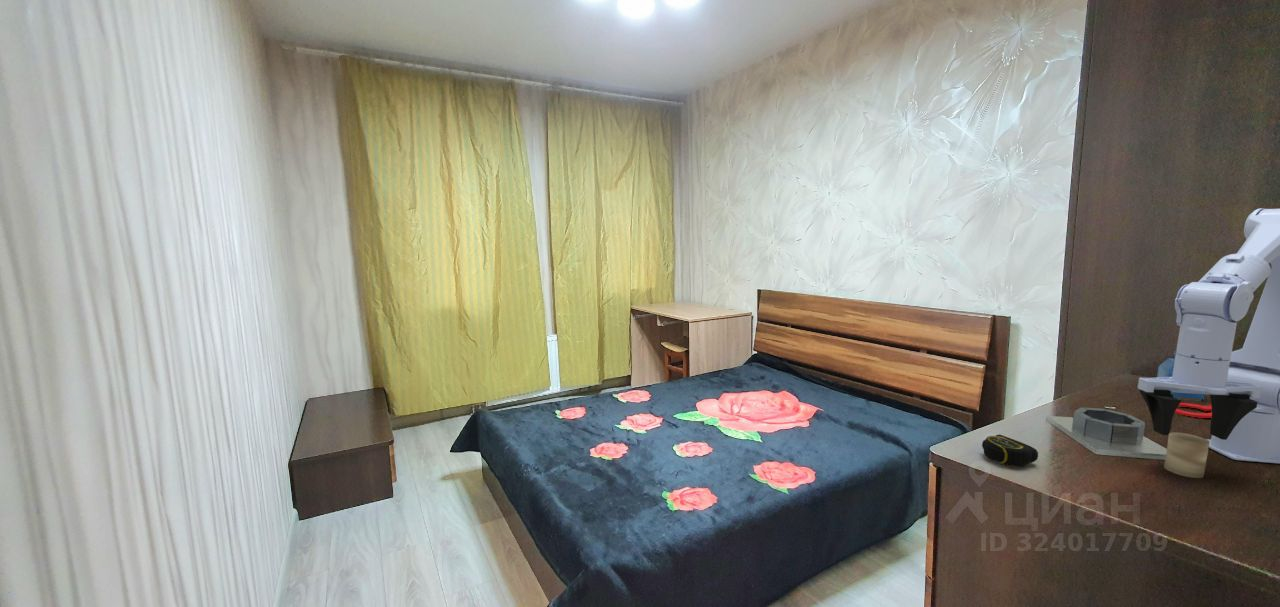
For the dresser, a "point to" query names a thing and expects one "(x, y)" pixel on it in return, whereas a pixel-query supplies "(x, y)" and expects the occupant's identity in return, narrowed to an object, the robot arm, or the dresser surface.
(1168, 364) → the perfume bottle
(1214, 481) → the dresser surface
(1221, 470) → the dresser surface
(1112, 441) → the rosette socket
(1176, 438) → the tan peg
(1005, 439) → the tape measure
